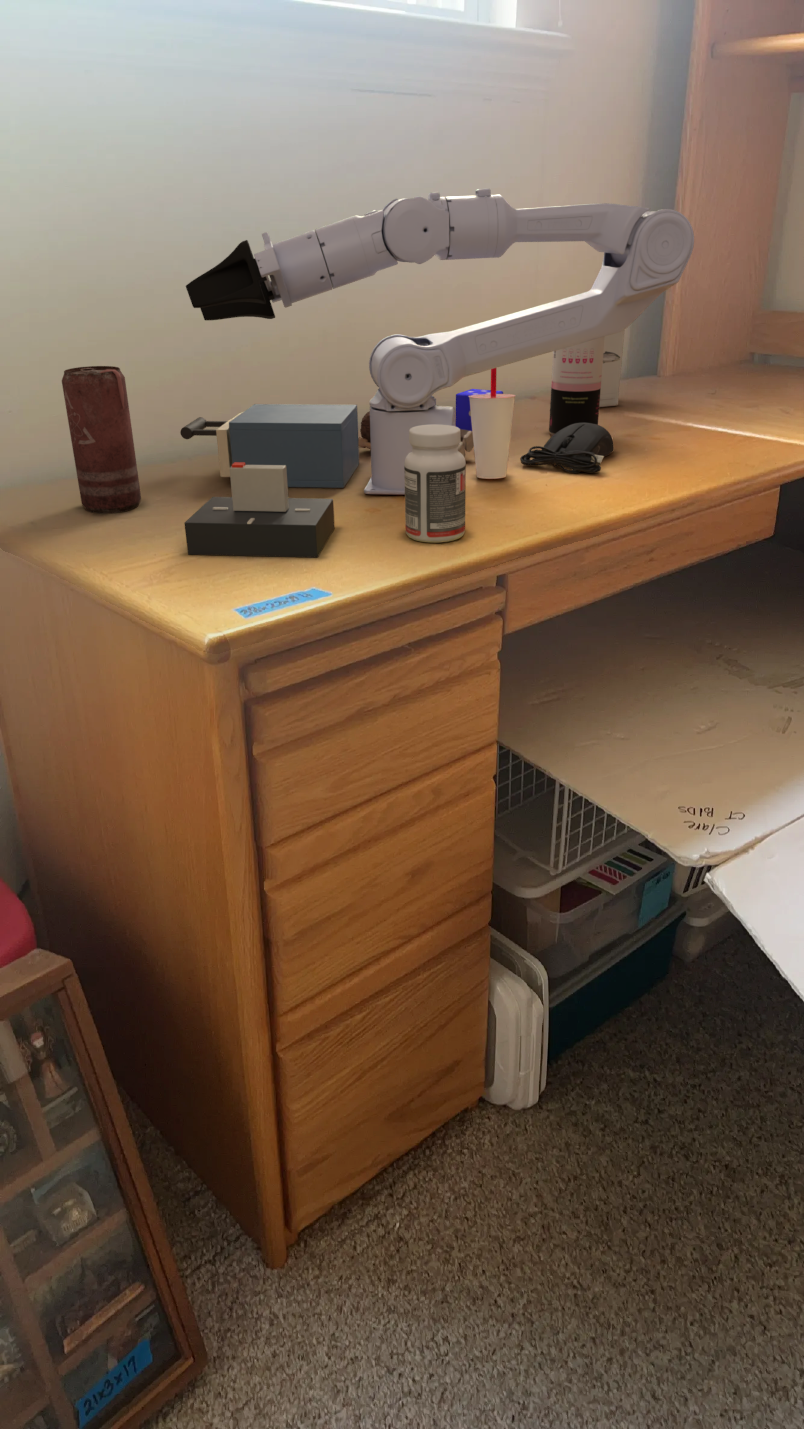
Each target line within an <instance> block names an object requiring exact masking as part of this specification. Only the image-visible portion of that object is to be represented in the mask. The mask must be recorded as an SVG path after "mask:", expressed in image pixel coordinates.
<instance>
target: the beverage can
mask: <svg viewBox="0 0 804 1429" xmlns="http://www.w3.org/2000/svg"><path fill="white" fill-rule="evenodd" d="M604 338H605V336H604V337H601V338H597V339H594V340H590V341H587V342H583V343H580V344H576V345H573V346H569V347H566V348H563V349H559V350H556V351H552V368H551V384H550V385H551V387H550V401H549V402H550V403H549V404H550V405H549V422H548V423H549V424H548V432H549V433H550V434H551V436H553V435H554V434H555V433H557V432H558V431H560V430H561V429H563V428H565V427H567V426H569V425H572V424H575V423H592V424H597V425H599V416H600V407H599V404H600V391H601V378H602V365H603V351H604Z"/></svg>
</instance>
